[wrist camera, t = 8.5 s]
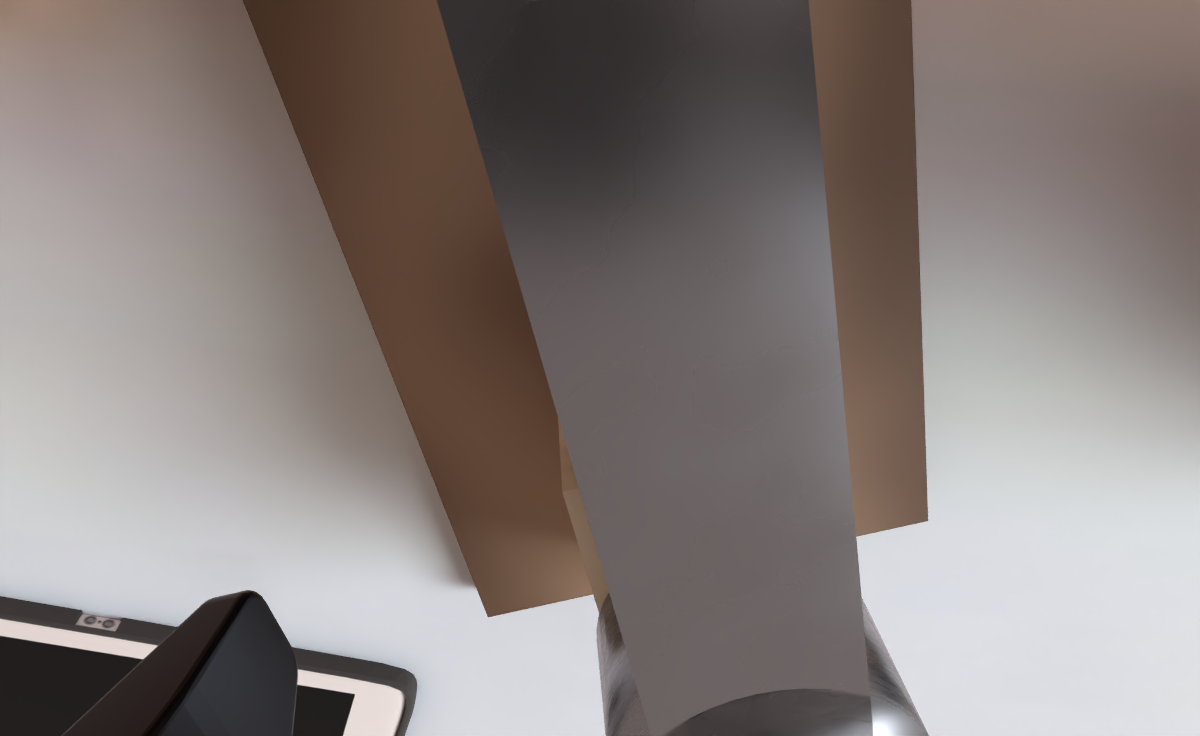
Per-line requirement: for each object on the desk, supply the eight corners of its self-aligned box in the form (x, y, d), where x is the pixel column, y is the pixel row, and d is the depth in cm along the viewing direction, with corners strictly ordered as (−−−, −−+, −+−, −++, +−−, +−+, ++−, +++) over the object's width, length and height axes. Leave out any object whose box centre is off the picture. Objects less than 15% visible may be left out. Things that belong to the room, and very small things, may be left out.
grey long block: (865, 686, 19) (941, 861, 15) (625, 737, 19) (647, 921, 16) (707, -1038, 8) (859, -1856, 4) (122, -865, 8) (-210, -1493, 4)
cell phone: (372, 817, 28) (368, 845, 28) (-114, 751, 25) (-137, 781, 24) (426, 661, 25) (422, 687, 24) (-128, 562, 22) (-155, 589, 21)
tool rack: (862, -659, 12) (1046, -978, 8) (912, 497, 23) (1003, 635, 18) (88, -445, 13) (-143, -633, 8) (489, 590, 23) (480, 747, 19)
